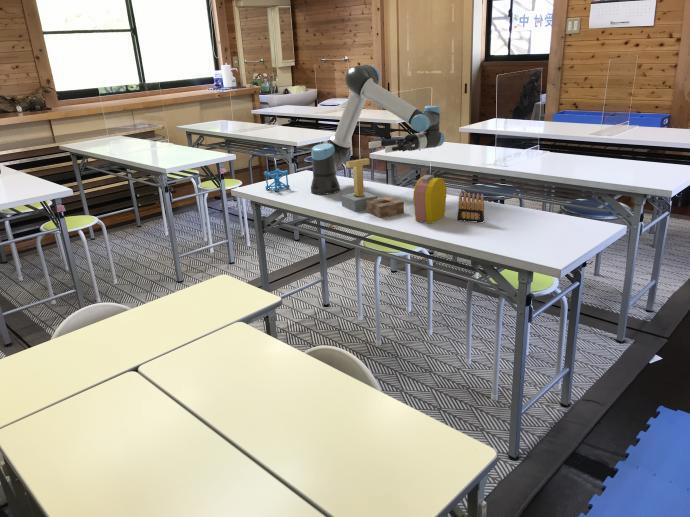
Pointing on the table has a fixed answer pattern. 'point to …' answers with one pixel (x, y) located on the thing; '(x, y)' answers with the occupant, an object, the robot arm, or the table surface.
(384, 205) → the block
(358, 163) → the t key
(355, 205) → the block
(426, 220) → the alarm clock
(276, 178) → the molecular structure
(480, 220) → the ammunition clip
